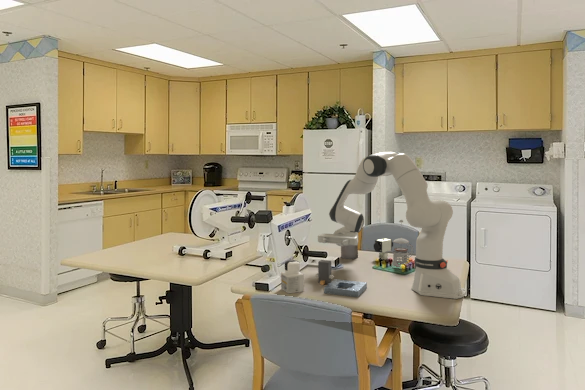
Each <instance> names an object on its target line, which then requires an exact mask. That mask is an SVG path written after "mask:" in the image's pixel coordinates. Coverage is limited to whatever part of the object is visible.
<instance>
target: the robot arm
mask: <svg viewBox="0 0 585 390" xmlns="http://www.w3.org/2000/svg"><path fill="white" fill-rule="evenodd" d="M387 176H393V178H394V180H395V182H396V183H397V185H398V187H399V189H400V190H401V193H402V194H403V196H404V199H405V203H406V208H407V209H406V213H405V217H406V221H407V223H408V224H409V225H410V226H411V227H414V228H418V229H419V228H420V233H419V235H418V236H417V238H416V240H415V257H414V262H413V263H414V265H413V266H414V277H413V281H412V282H413V283H412V286H411V290H412V291H414V292H416V293H417V294H418V295H420V296H425V297H435V298H445V299H456V300H457V299H461V298H463V297H465V296H466V295H467V290H466V289H465V288H464V287H462V284H461V283H462V282H461V279H460V278H459V276H458V275H456V274H455V273H454V272H453V271H451V270H450V268H448V261H449V260H448V259H447V260H446V259H444V258H443V249H444V238H445V235H446V230H447V227H448V223H449V222H450V221H451V219H452V217H453V214H454V211H453V207H452V206H451V205H452V204H450V203H449V202H447V201H445V200H441V199H434V200H431V199H430V197H429V195H428V183H427V181H426V178H424V176H423V174H422V173H421V171H420V169H419V168H418V166H417V165H416V163H415V162H414V161H413V159H412V158H411V157H410V156H409V155H408V154H406V153H403V152H399V151H394V150H393V151H383V152H378V153H372V154H370V155H367V156H365V157H363V158H362V160H361V161H360V163H359V165H358V166H357V169H356V172H355V176H354V177H353V178H352V179H348V180H347V182H346V183H345V184H344V186H343V187H342V189H341V190H340V192H339V194H338V196H337V198H336V200H335V202H334V204H333V205H332V207H331V208H330V210H329V213H328V215H329V218H330V220H331V221H332V222H334V223H338V224H340V225H342V227H340V228H338V229H336V230H335V231H334V233H321V234H318V235H317V242H318V243H322V244H334V245H337V246H339V247H341V246H347V245H359V233H360V232H361V231H362V229H363V227H364V224H365V217H364V215H363V213H361V212H360V211H357V210H354V209H352V208H350V207H348V206H346V205H345V203H346V200H347V198H348V196H349V195H367V194H369V193H371V192H373V190H374V189H375V187H376V185H377V182H378V179H379V177H387Z"/></svg>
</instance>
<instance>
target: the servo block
mask: <svg viewBox="0 0 585 390" xmlns="http://www.w3.org/2000/svg"><path fill="white" fill-rule="evenodd" d="M317 267H318V268H317V271H318V272H317V273H316V274H315V277H316V278H318V279H317V282H318V284H320V285H322V286H324V285H328V284H329V283H330V282H332V279H333V278H334V277H335V276H334V274H332V260H326V259H325V260H324V259H321V260H318V261H317ZM334 279H335V278H334Z"/></svg>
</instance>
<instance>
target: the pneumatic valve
mask: <svg viewBox="0 0 585 390" xmlns="http://www.w3.org/2000/svg"><path fill="white" fill-rule="evenodd" d="M393 247H394V242H393V239H391V238H386V237H382V238H379V239H375V240H374V243H373V250H374V252H376V253H378V259H379V258H381V259H380V260H383V259H385V260H388V257H389V254H388V252H391V251H392V250H393Z"/></svg>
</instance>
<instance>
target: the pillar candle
mask: <svg viewBox="0 0 585 390" xmlns="http://www.w3.org/2000/svg"><path fill="white" fill-rule="evenodd" d="M358 245H359V244H358ZM358 245H347V246H340V258H342V259H345V260H346V259H347V260H354V259H358V258H359V257H358V256H359V251H358V250H359V246H358Z"/></svg>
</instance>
